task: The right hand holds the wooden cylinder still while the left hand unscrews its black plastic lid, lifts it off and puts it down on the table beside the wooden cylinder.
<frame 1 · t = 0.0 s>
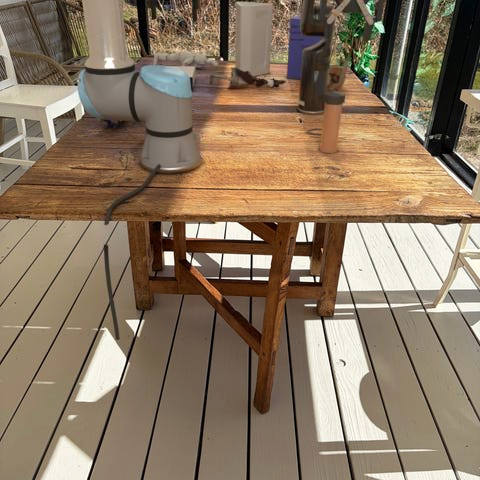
left hand: (174, 20, 152), 28 cm above the table, tool pointing down, fingers open, 13 cm apart
right hand: (346, 41, 112), 29 cm above the table, tool pointing down, fingers open, 8 cm apart
toy: (186, 67, 225), on the table
tall white carton: (253, 72, 218), on the table
wooden cylinder: (328, 150, 133), on the table
lid: (334, 95, 125), point 15 cm above the table, screwed on, not yet turned
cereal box: (306, 78, 209), on the table
disc drive: (173, 84, 196), on the table
figurine: (247, 88, 192), on the table
figurine character: (116, 124, 150), on the table
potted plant: (333, 88, 194), on the table
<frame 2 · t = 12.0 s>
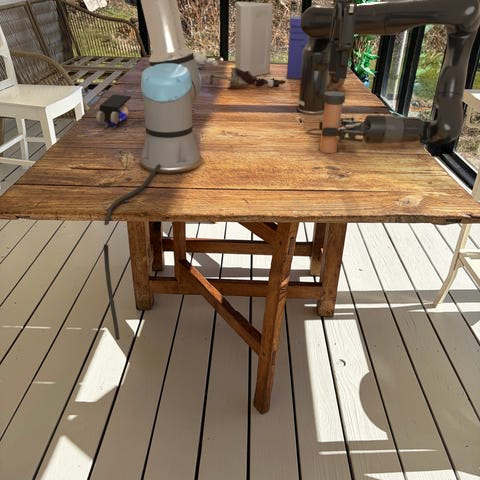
left hand: (336, 74, 122), 20 cm above the table, tool pointing down, fingers open, 7 cm apart
right hand: (321, 128, 130), 6 cm above the table, tool horizontal, fingers closed on wooden cylinder, 4 cm apart
wooden cylinder: (328, 150, 133), on the table, touching right hand
everything else where it was.
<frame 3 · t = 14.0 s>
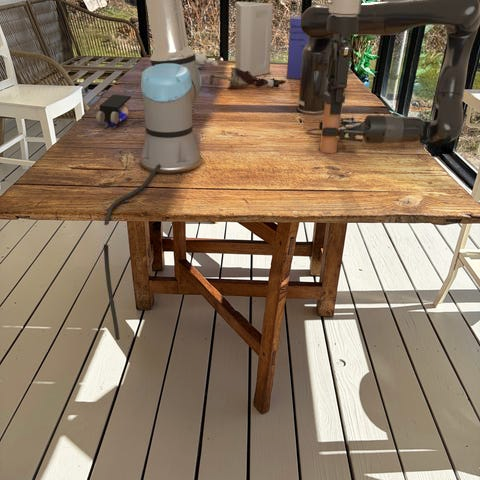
left hand: (332, 110, 127), 11 cm above the table, tool pointing down, fingers closed on lid, 5 cm apart
right hand: (321, 128, 130), 6 cm above the table, tool horizontal, fingers closed on wooden cylinder, 4 cm apart
wooden cylinder: (328, 150, 133), on the table, touching right hand
lid: (334, 95, 125), point 15 cm above the table, screwed on, not yet turned, touching left hand
everything else where it was.
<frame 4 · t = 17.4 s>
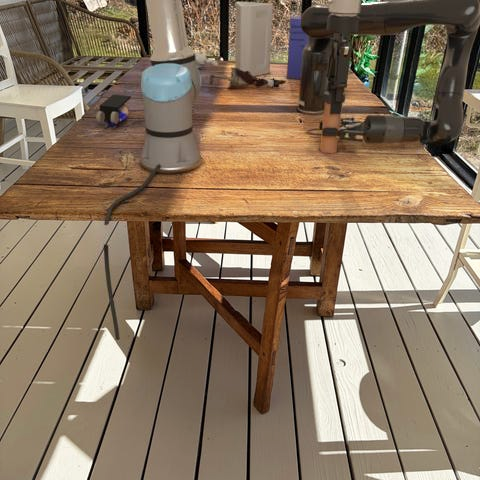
left hand: (332, 110, 127), 11 cm above the table, tool pointing down, fingers closed on lid, 5 cm apart
right hand: (321, 128, 130), 6 cm above the table, tool horizontal, fingers closed on wooden cylinder, 4 cm apart
wooden cylinder: (328, 150, 133), on the table, touching right hand
lid: (334, 94, 125), point 15 cm above the table, turned 118° so far, risen 0.1 cm, still on its thread, touching left hand
everything else where it was.
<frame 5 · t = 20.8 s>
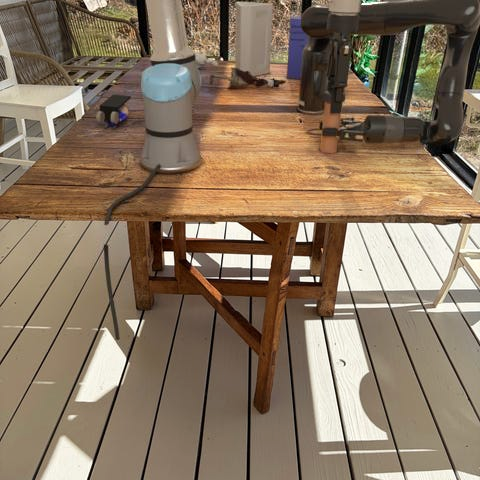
left hand: (332, 109, 127), 11 cm above the table, tool pointing down, fingers closed on lid, 5 cm apart
right hand: (321, 128, 130), 6 cm above the table, tool horizontal, fingers closed on wooden cylinder, 4 cm apart
wooden cylinder: (328, 150, 133), on the table, touching right hand
lid: (334, 93, 125), point 15 cm above the table, turned 236° so far, risen 0.3 cm, still on its thread, touching left hand
everything else where it was.
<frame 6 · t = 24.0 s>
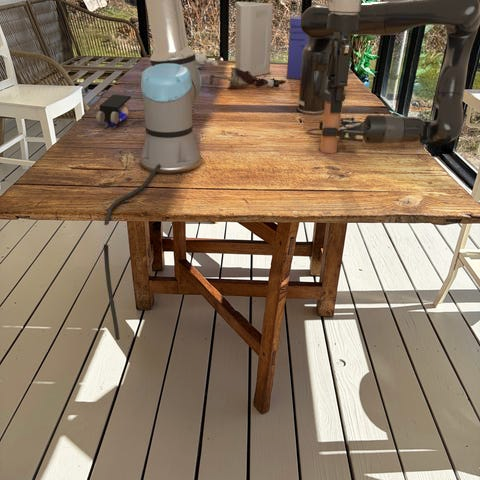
left hand: (333, 108, 127), 12 cm above the table, tool pointing down, fingers closed on lid, 5 cm apart
right hand: (321, 128, 130), 6 cm above the table, tool horizontal, fingers closed on wooden cylinder, 4 cm apart
wooden cylinder: (328, 150, 133), on the table, touching right hand
lid: (334, 93, 125), point 16 cm above the table, turned 354° so far, risen 0.5 cm, still on its thread, touching left hand
everything else where it was.
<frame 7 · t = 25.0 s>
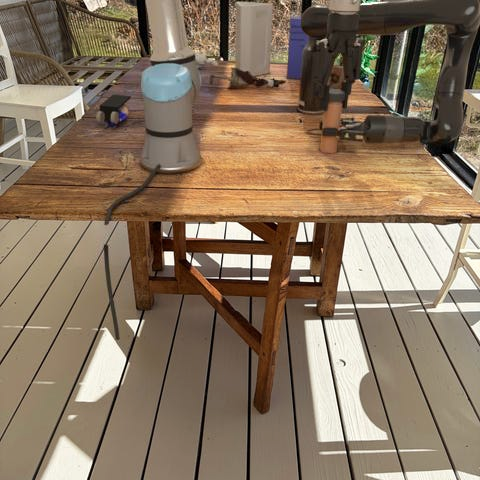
left hand: (333, 108, 127), 12 cm above the table, tool pointing down, fingers closed on lid, 5 cm apart
right hand: (321, 128, 130), 6 cm above the table, tool horizontal, fingers closed on wooden cylinder, 4 cm apart
wooden cylinder: (328, 150, 133), on the table, touching right hand
lid: (334, 92, 125), point 16 cm above the table, off its thread, touching left hand
everything else where it was.
when the left hand's fingers open (0 cm above the table, at t = 30.6 s): lid drops 2 cm, point 2 cm above the table.
when the right hand's fingers open (6 cm above the table, at t = 31.3 s): wooden cylinder stays where it is, on the table.
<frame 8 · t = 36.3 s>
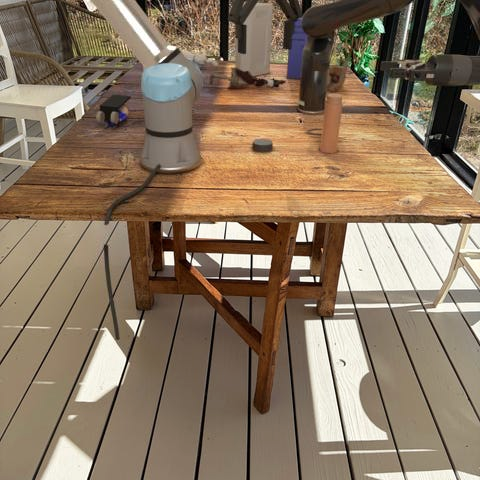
left hand: (265, 51, 120), 26 cm above the table, tool pointing down, fingers open, 13 cm apart
right hand: (384, 69, 122), 22 cm above the table, tool horizontal, fingers open, 8 cm apart
wooden cylinder: (328, 150, 133), on the table
lid: (262, 143, 132), point 2 cm above the table, off its thread
everything else where it was.
at the end: lid came off its thread; lid point 1.7 cm above the table; the left hand is holding nothing; the right hand is holding nothing; wooden cylinder tilted 0°; wooden cylinder moved 0.0 cm from its start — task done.
